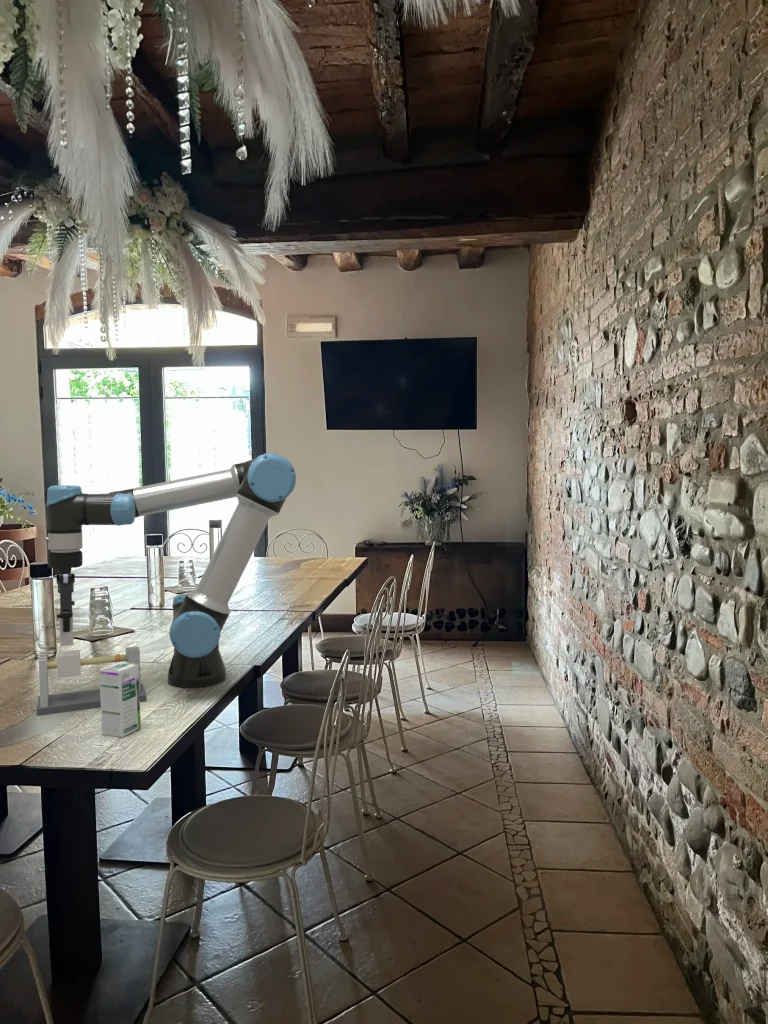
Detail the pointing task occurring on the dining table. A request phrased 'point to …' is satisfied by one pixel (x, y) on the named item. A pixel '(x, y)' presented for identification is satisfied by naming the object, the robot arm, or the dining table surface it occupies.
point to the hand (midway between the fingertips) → (66, 639)
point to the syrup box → (120, 699)
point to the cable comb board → (80, 698)
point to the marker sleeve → (68, 663)
